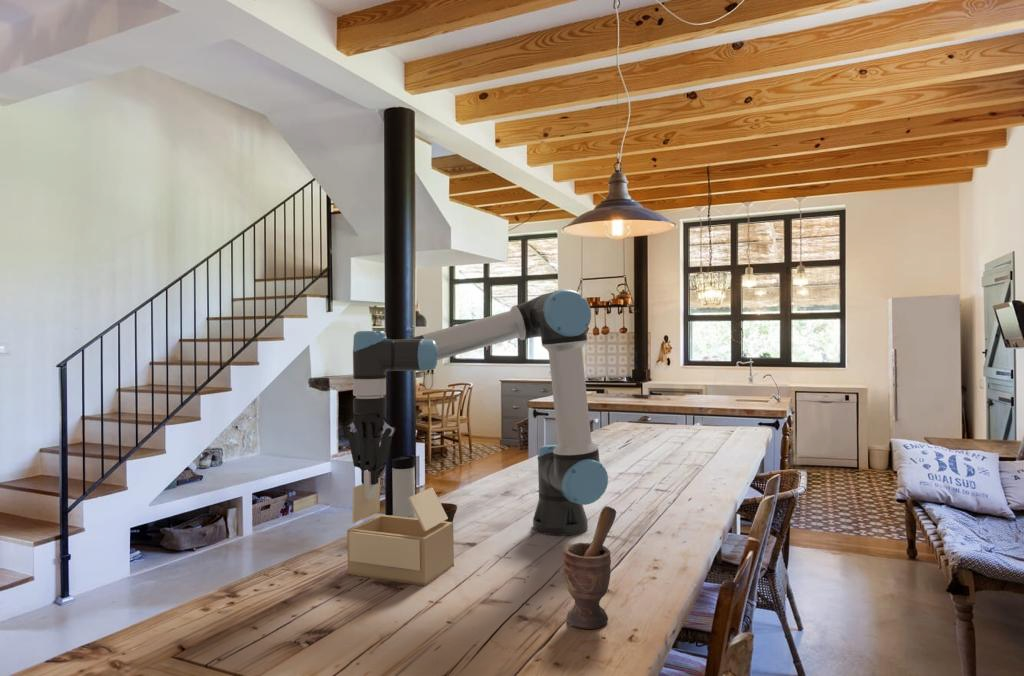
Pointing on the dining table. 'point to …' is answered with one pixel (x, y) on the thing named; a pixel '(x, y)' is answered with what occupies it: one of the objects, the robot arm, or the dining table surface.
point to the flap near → (428, 508)
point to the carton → (400, 550)
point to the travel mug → (403, 485)
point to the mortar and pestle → (589, 575)
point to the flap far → (364, 503)
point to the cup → (449, 511)
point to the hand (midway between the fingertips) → (370, 497)
